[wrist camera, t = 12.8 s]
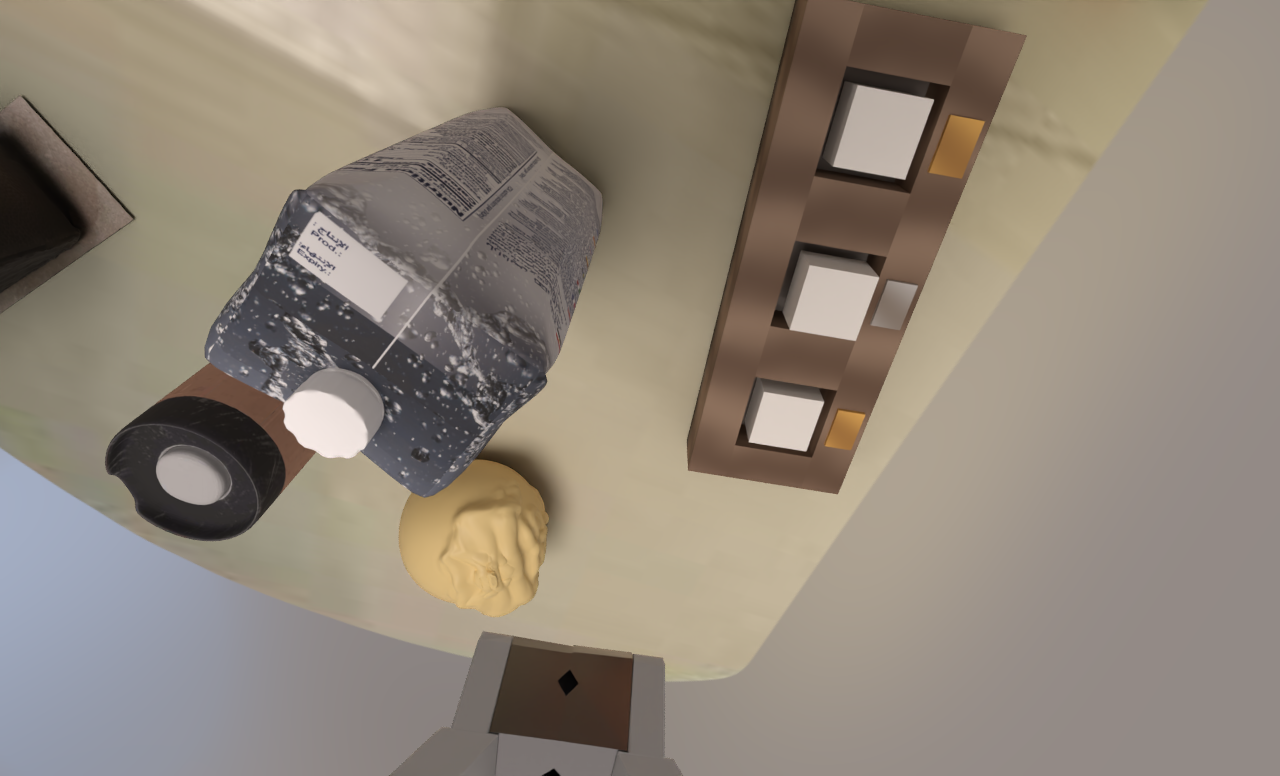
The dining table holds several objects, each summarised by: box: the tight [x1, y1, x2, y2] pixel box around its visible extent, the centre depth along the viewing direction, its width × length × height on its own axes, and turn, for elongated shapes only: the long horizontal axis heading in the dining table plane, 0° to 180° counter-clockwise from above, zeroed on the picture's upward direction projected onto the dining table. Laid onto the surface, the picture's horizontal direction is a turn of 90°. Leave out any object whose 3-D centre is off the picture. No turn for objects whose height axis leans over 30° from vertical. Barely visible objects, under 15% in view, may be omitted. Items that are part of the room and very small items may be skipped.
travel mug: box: [105, 363, 316, 541], centre depth 40 cm, size 8×8×20 cm
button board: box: [687, 0, 1027, 494], centre depth 43 cm, size 32×12×4 cm, turn 170°
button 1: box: [745, 377, 824, 451], centre depth 48 cm, size 4×4×3 cm
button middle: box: [783, 250, 879, 341], centre depth 41 cm, size 4×4×3 cm
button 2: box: [822, 81, 934, 180], centre depth 38 cm, size 4×4×3 cm
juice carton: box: [205, 107, 603, 498], centre depth 32 cm, size 9×10×27 cm
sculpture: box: [399, 459, 549, 617], centre depth 52 cm, size 12×12×11 cm
